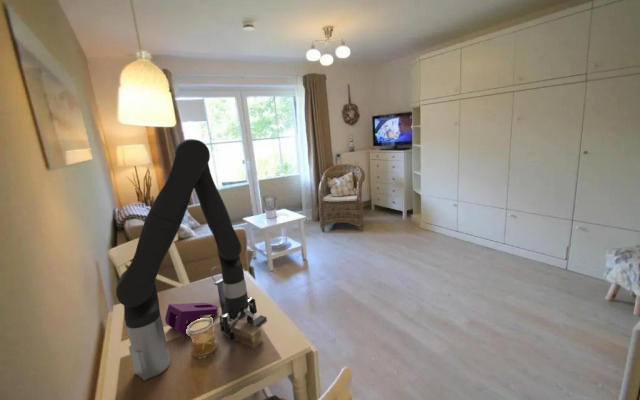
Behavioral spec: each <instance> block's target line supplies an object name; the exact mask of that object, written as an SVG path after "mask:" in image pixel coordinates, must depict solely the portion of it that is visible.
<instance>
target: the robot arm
mask: <svg viewBox="0 0 640 400" xmlns="http://www.w3.org/2000/svg"><path fill="white" fill-rule="evenodd" d="M210 158H211V153H210V150H209V148H208V146H207V145H206V144H205V143H204V142H203V141H201V140H200V139H196V138H195V139H194V138H188V139H184V140H181V141H180V142H179V143H178V144H177V146H176V149H175V154H174V160H173V162H172V165H171V169H170V172H169V175H168V177H167V179H166V182H165V183H164V185H163V187H162V188H161V190H160V191H159V192H158V195H157V196H156V198H155V199H154V201H153V203H152V205H151V207H149V208H150V209H149V211H148V214H147V215H146V217H145V221H144V223H143V226H142V227H141V231H140V235H139V238H138V241H137V245H136V249H135V253H134V255H133V258H132V259H131V263H130V264H129V266H128V268H127V269H125V270H124V271H123V272H122V274H121V275H120V277H119V279H118V283H117V285H116V289H115V294H116V298H117V300H118V302H119V303H120V304H121V305H123V308H124V309H123V310H124V315H123V316H124V323H125V326H126V331H127V334H128V339H129V342H130V345H129V346H128V350H129V354H130V359H131V363H132V367H133V372H134V374H135V375H136V376H138V377H139V378H140V379H142V381H147V380H148V379H150V378H154V377H157V376H158V375H160V374H162V373H163V372H165V371H166V370H167V369H168V368H169V366H170V364H171V359H170V358H171V357H170V353H169V349H168V344H167V339H166V334H165V330H164V325H163V320H162V319H163V318H162V315H161V311H160V310H161V309H160V299H159V295H158V290H157V289H158V288H157V285H156V284H157V283H156V279H157V278H158V277H157V276H158V273H159V271H160V268H161V265H162V263H163V261H164V258H165V257H166V255H167V253H168V252H169V250H170V248H171V246H172V244H173V242H174V240H175V238H176V236H177V234H178V232H179V229H180V227H181V225H182V223H183V220H184V218H185V216H186V213H187V209H188V207H189V205H190V200H191V197H192V193H193V191H194V192H195V194H196V196H197V199H198V202H199V207H200V208H201V212H202V214H203V217H204V220H205V221H206V224H207V226H208V228H209V230H210V232H211V235H212V236H213V238H214V241H215V243H216V249H217V255H218V258H219V263H220V269H221V272H222V274H221V276H222V277H221V279H222V278H223V290H224V296H225V303H226V307H227V309H228V311H227V314H226V315H224V316H223V315H222V314H220V316H219V324H220V326H219V327H220V331H221V332H222V334H223V333H225V334H227V335H226V336H227V339H228V340H229V341H230V342H235V341H236V340H235V337H234V331H233V330H234V327H235V326H236V324H237V321H239V320H241V319H242V318H245V317H246V318H245V319H246V323H249V324H251V325H253V323H254V322H253V320H254V315H255V314H257V312H258V310H257V304H256V299H255V298H254V297H253V298H252V297H251V296H248V288H247V282H246V279H245V273H244V267H243V263H242V262H241V257H240V254H241V253H242V244H241V241H240V238H239V237H238V235H237V232H236V230H235V229H234V226H233V223H232V220H231V217H230V215H229V211H228V209H227V207H226V205H225V202H224V200H223V198H222V195H221V194H220V192H219V189H218V188H217V186H216V184H215V182H214V178H213V177H212V176H213V175H212V173H211V169H210V166H209V165H210V164H209V161H210ZM248 308H249V309H248ZM232 319H233V320H234V322H232V321H231V320H232ZM230 325H231V328H230ZM225 334H224V335H225Z"/></svg>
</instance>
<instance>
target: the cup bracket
mask: <svg viewBox="0 0 640 400" xmlns="http://www.w3.org/2000/svg"><path fill="white" fill-rule="evenodd" d="M215 281H216V280H215ZM215 281H214V285H216V286H217V290H218V291H217V292H218V297H219V303H220V305H219V306H220V310H221V315H223V316H224V315H226V314H227V311H228V309H227V307H226V303H225V296H224V290H223V278H222V277H221V279H218V280H217V281H216V282H215Z"/></svg>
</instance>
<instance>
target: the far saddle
mask: <svg viewBox="0 0 640 400" xmlns="http://www.w3.org/2000/svg"><path fill="white" fill-rule="evenodd" d="M266 319H267V320H268V318H267V316H265V315H263V314H260V315H259V316H257V317H256V318H255V319H253V322H254V323H253V325H254V326H256V327H258V328H259V326H260V325H262V324H263V323H264V322H265V321H267V320H266ZM262 322H263V323H262ZM261 323H262V324H261Z"/></svg>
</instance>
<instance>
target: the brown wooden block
mask: <svg viewBox="0 0 640 400" xmlns="http://www.w3.org/2000/svg"><path fill="white" fill-rule="evenodd" d="M231 321H232V322H234V320H233V319H232V320H231ZM230 328H231V325H230ZM233 331H234V337H235V339H236V340H235V341H237V340H238V342H240V343H241V344H244V345H247V346H248V347H250V348H253V349H256V348H257V346H259V345H260V344H261V343H262V342H263V335H262V328H260V327H259V326H258V327H256V326H254V325H251V324H249V323H247V321H244V320H241V319H240V320H239V321H237V324H236V326H235V327H234V330H233ZM223 335H225V333H224V334H223ZM225 336H227V334H226V335H225Z"/></svg>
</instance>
